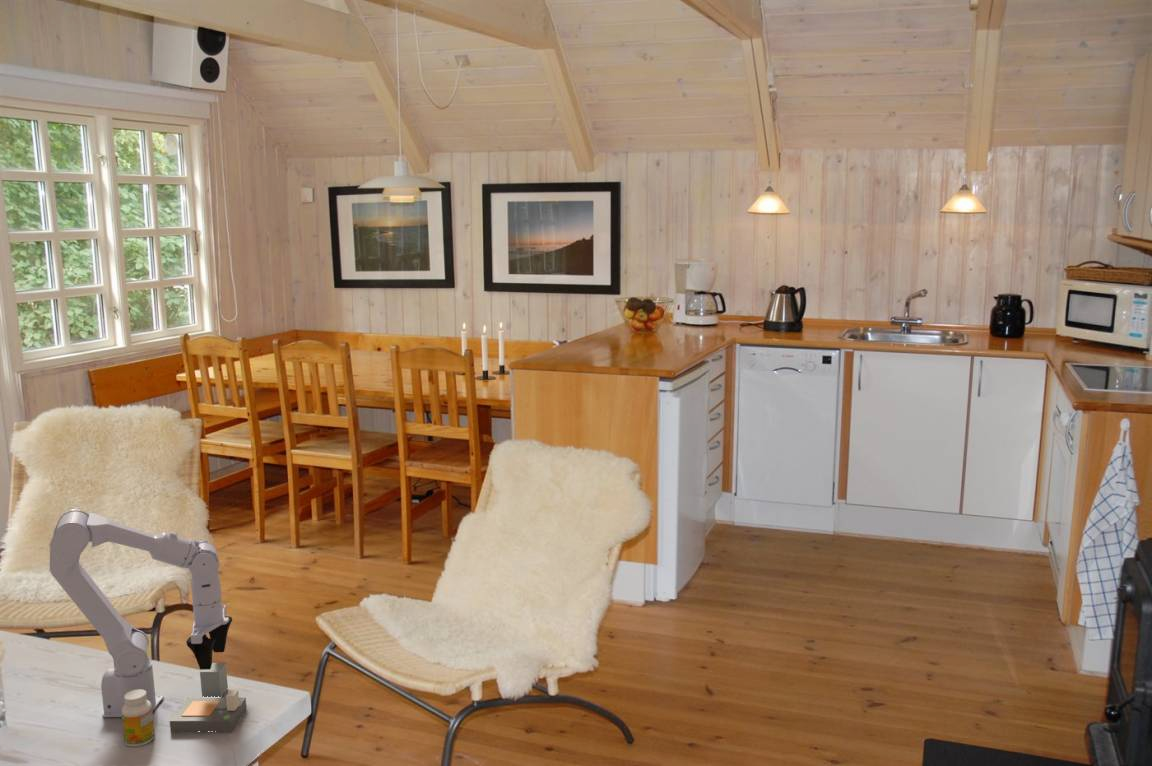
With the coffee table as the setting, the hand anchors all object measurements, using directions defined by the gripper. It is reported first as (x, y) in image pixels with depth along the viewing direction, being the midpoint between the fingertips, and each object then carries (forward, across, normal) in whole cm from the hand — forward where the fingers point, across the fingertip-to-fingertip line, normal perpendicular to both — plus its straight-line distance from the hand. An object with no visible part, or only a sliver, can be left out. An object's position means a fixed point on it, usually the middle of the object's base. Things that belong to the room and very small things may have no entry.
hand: (212, 660), depth 204 cm
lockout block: (+8, 0, 0) cm, 8 cm away
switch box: (+8, -11, -3) cm, 14 cm away
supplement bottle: (+8, -18, +8) cm, 21 cm away
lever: (+5, -11, -8) cm, 14 cm away
